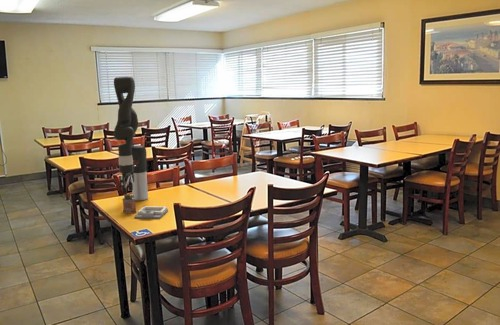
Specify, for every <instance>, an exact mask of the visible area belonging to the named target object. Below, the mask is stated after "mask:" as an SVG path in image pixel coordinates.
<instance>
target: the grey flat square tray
mask: <svg viewBox="0 0 500 325" xmlns="http://www.w3.org/2000/svg"><path fill="white" fill-rule="evenodd" d="M168 211H169V209H168V206H152V205H151V206H149V205H147V206H146V205H145V206H143V207H141V208H140V209H139V210H138V211H137V214H136V215H135V216H134V219H145V220H146V219H148V220H160V219H162V218H163V216H165V215H166V214H167V212H168Z"/></svg>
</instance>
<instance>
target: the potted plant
mask: <svg viewBox="0 0 500 325" xmlns="http://www.w3.org/2000/svg"><path fill="white" fill-rule="evenodd" d="M123 197H124V198H122V199H121V200H122V207H123V208H122V209H123V210H122V211H123V213H127V214H136V213H137V205H136V201H137V200H136V199H133V198H134V195H133V194H130V193H128V194H123Z"/></svg>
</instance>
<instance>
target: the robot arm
mask: <svg viewBox="0 0 500 325" xmlns="http://www.w3.org/2000/svg"><path fill="white" fill-rule="evenodd" d="M135 84H136V83H135V79H134V77H133V76H129V75H128V76H117V77H115V78H113V88H114V91H115V95H116V98H117V102H118V107H119V108H118V110H117V121H116V125H115V127H114V130H113V137H114V138H115V140H117V141H125V142H124V143H122V144H119V145H118V147H117V149H118V170H119V171H118V172H119V173H120V174H121V175H119V177H118V178H119V180H118V181H119V188H121V192H122V195H128V194H127V192H128V191H130V192H131V195H134V198H132V199H136V201H139V202H140V201H145V200H147V199H149V190H148V178H147V176H148V174H147V166H148V165H147V164H148V163H147V148H146V147H145V146H144V145H135V144H134V137H135V134H136V132H137V130H138V127H139V120H138V119H139V118H138V115H137V114H138V113H137V112H136V110H135V109H134V108H133V102H134V96H135V90H136V85H135ZM124 94H126V96H124ZM135 161H136V162H138V164H136V165H134V162H135ZM127 185H128V190H127Z"/></svg>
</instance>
